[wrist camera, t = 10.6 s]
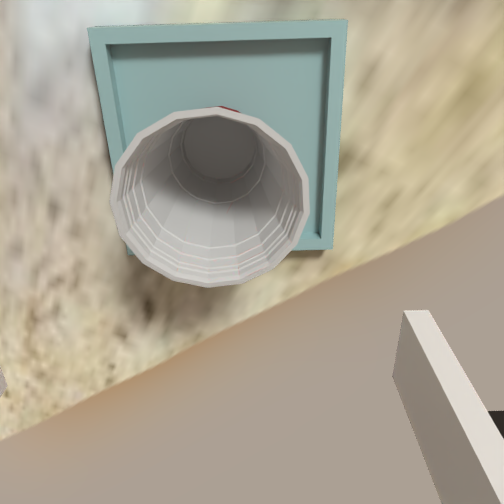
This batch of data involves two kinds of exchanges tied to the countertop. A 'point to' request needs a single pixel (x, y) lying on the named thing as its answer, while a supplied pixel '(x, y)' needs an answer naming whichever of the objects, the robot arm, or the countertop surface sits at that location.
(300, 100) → the tray
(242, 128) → the plastic cup
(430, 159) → the countertop surface
